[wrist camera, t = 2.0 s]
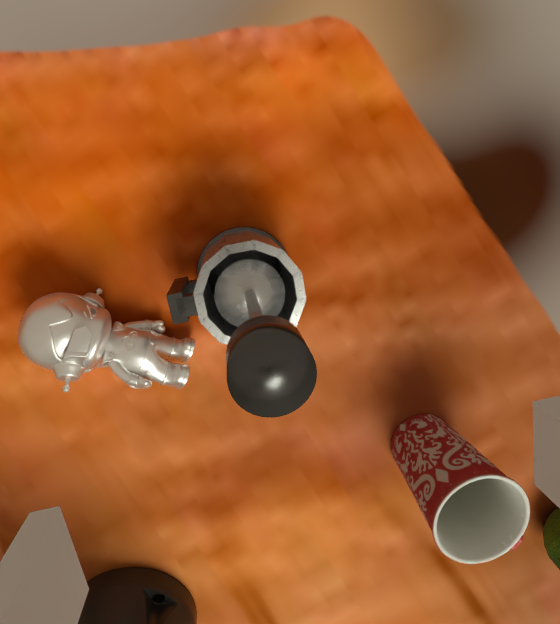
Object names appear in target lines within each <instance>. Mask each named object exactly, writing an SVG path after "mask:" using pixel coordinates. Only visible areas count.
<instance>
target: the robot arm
mask: <svg viewBox="0 0 560 624" xmlns="http://www.w3.org/2000/svg"><path fill="white" fill-rule="evenodd" d="M533 436H534V482H535V486H536V487H537V488H539V489H540V490H541V491H542V492H543V493H544V494H545V495H546V496H547V497H548V498H549V499H550V500H551V501H552V502H553V503H554V504H556V505H557V506H558V507H559V508H560V397H559V396H556V397H551V398H547V399H542V400H538V401H533ZM196 621H197V612H196V607H195V603H194V601H193V598H192V596H191V595H190V593H189V592H188V590H187V589H186V588H185V587H184V586H183V585H182V584H181V583H180V582H178V581H177V580H176V579H174V578H173V577H171V576H169V575H167V574H165V573H162V572H159V571H156V570H152V569H147V568H122V569H116V570H112V571H109V572H106V573H103V574H101V575H98V576H96V577H95V578H93V579H91V580H90V581H88V582H86V579H85V576H84V573H83V570H82V567H81V565H80V562H79V559H78V556H77V553H76V551H75V548H74V545H73V542H72V539H71V536H70V534H69V531H68V528H67V525H66V522H65V520H64V517H63V514H62V511H61V508H60V506H57V507H52V508H48V509H43V510H39V511H34V512H30V513H29V515H28V516H27V518H26V520H25V521H24V523H23V525H22V526H21V528H20V530H19V531H18V533H17V535H16V536H15V538H14V540H13V541H12V543H11V545H10V546H9V548H8V550H7V551H6V553H5V555H4V556H3V558H2V560H1V561H0V624H196Z"/></svg>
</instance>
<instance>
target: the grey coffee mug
mask: <svg viewBox="0 0 560 624" xmlns="http://www.w3.org/2000/svg"><path fill="white" fill-rule="evenodd" d="M242 259H258V260H261V261H264V262H266V263H268V264H269V265H271V266H272V267H273V268H274V269H275V270H276V271H277V272H278V274H279V275H280V277H281V279H282V281H283V283H284V287H285V301H284V305H283V307H282V309H281V311H280V313H279V314H278V316H277V317H281V318H283V319H285V320H287V321H289V322H290V323H291V324H293V325H294V326H295V327H296V326H297V323H298V321H299V318H300V315H301V313H302V310H303V308H304V305H305V302H306V295H305V289H304V283H303V277H302V272H301V271H300V269H299V268H298V267H297V266H296V265H295V264H294V262H293V261H292V260H291V259H290V258H289V256H288V255H287V254H286V252H285V250H284V248H283V247H282V246H281V244H280V243H279V242H278V241H277V240H276V239H275V238H274V237H272V236H271V235H270V234H268V233H266V232H264V231H262V230H260V229H256V228H252V227H236V228H231V229H228V230H226V231H223V232H221V233H220V234H218V235H217V236H215V237H214V238H213V239H212V240H211V241H210V242H209V243H208V244H207V245H206V247H205V248H204V250H203V252H202V254H201V256H200V259H199V263H198V267H197V279H195V280H190V281H189V279H188V277H183V278H178V279H175V280H174V282H173V284H172V286H171V288H170V290H169V291H168V293H167V295H166V296H167V300H168V304H169V308H170V312H171V316H172V320H173V324H178V323H183V322H188V321H189V318H190V316H193V315H198V317H199V321H200V323H201V324H202V325H203V326H204V327H205V328H206V329H207V330H208V331H209V332H210V333H211V334H212V335H213V336H214V337H215V338H216V339H217V340H218V341H219V342H220V343H223V344H227V345H228V342H229V339H230V337H231V335H232V334H233V332H234V331H235V330H236V329H237V328H238V327H237V326H234V325H232V324H230V323H229V322H228V321H226V320H225V319H224V318H223V317H222V315H221V314H220V312H219V311H218V309H217V306H216V303H215V298H214V291H215V285H216V282H217V279H218V277H219V275H220V274H221V273H222V271H223V270H224V269H225V268H226V267H227V266H229V265H230V264H232V263H233V262H236V261H238V260H242Z"/></svg>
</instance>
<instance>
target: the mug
mask: <svg viewBox="0 0 560 624" xmlns="http://www.w3.org/2000/svg"><path fill="white" fill-rule="evenodd" d="M391 451H392V454H393V457H394V459H395V461H396V463H397V465H398V467H399V469H400V470H401V472H402V474H403V476H404V478H405V480H406V482H407V484H408V486H409V488H410V490H411V491H412V493H413V495H414V497H415V499H416V501H417V503H418V505H419V507H420V509H421V511H422V513H423V515H424V517H425V519H426V521H427V523H428V524H429V526H430V528H431V530H432V533H433V538H434V541H435V543H436V545H437V547H438V548H439V550H440V551H441V552H442V553H443V554H444V555H446V556H447V557H449V558H450V559H452V560H454V561H457V562H460V563H465V564H478V563H484V562H488V561H491V560H493V559H495V558H497V557H499V556H501V555H503V554H505V553H506V552H507V551H509V550H514V549H515V548H516V547H517V546H519V544H520V543H521V542H522V541H523V533H524V532H525V530H526V528H527V525H528V522H529V517H530V504H529V500H528V497H527V495H526V493H525V491H524V490H523V488H522V487H521V486H520V485H519V484H518V483H517V482H515V481H514V480H513V479H511V478H509V477H507V476H506V475H505V474H504V473H502V472H501V471H500V470H499V469H498V468H497V467H496V466H495V465H494V464H492V463H491V462H490V461H489V460H488V459H487V458H485V457H484V456H483V455H482V454H481V453H480V452H479V451H478V450H476V449H475V448H474V447H473V446H472V445H471V444H470V443H469V442H467V441H466V440H465V439H464V438H463V437H462V436H461V435H459V434H458V433H457V432H456V431H455V430H454V429H453V428H452V427H450V426H449V425H448V424H447V423H446V422H445V421H444V420H442V419H441V418H439V417H437V416H435V415H431V414H420V415H416V416H413V417H410V418H408V419H407V420H405V421H404V422H403V423H401V424H400V425H399V427H398V428H397V429H396V431H395V432H394V434H393V437H392V441H391Z"/></svg>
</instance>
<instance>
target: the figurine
mask: <svg viewBox="0 0 560 624" xmlns="http://www.w3.org/2000/svg"><path fill="white" fill-rule="evenodd" d="M102 293H103V290H102V289H101V288H98V289H97V290H96V294H95V293H86V294H84V295H82V296H81V295H78V294H72V293H66V292H56V293H51V294H48V295H45V296H42V297H40V298H38V299H37V300H35V301H34V302H33V303H32V304H31V305H30V306H29V307H28V309H27V310H26V311H25V313H24V315H23V316H22V318H21V320H20V324H19V329H18V343H19V346H20V349H21V350H22V352H23V354H24V355H25V356H26V357H27V358H28V359H29V360H30V361H31V362H33V363H34V364H36V365H38V366H40V367H43V368H46V369H49V370H53V372H54V374H55V376H56V378H57V379H58V380H60V381H65V386H64V387H63V391H64V392H69V391H70V386H69V382H73V381H77V380H79V379H80V378H81V376H82V375H83V374H84V373H86V372H90V371H91V370H93V369H94V368H95V367H97V368H102V367H107V366H109V367H110V369H111V370H112V371H113V373H114V374H115V375H116V376H117V377H119V378H120V379H121V380H122V381H124V382H125V384H127V385H129V386H130V387H132V388H138V389H147V388H150V387H151V386H152V382H151V381H154V382H158V383H160V385H167V386H171V387H175V388H176V389H181V388H183V387H184V386H185V384H186V382H187V380H188V377H189V373H190V366H189V365H186V364H185V365H184V364H174V363H170V362H169V361H168V362H166V361H165V360H163V359H162V358H166V359H173V360H177V361H180V362H181V363H186V362H188V360H189V359H190V358H191V356H192V354H193V351H194V348H195V339H193V338H186V337H185V338H183V339H177V338H175V337H172V338H171V337H168V336H165V335H162V334H163V333H164V332H165V330H166V329H165V326H164V322H163V321H162V320H156V321H151V320H143V321H134V322H129V323H126V324H123V325H122V324H121V323H120V322H117V321H116V322H114V324H113V327H112V319H111V315H110V313H109V311H108V310H107V309H105V305H104V300H103V299H102V298H101V297H100V296H99V294H102ZM111 327H112V328H111ZM101 357H102V360H101ZM161 357H162V358H161Z"/></svg>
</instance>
